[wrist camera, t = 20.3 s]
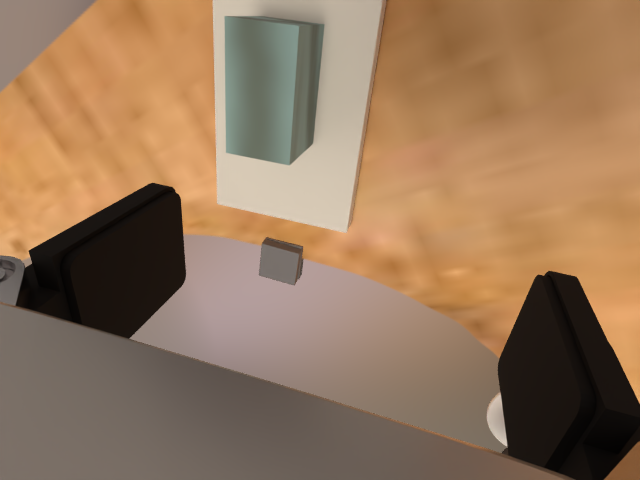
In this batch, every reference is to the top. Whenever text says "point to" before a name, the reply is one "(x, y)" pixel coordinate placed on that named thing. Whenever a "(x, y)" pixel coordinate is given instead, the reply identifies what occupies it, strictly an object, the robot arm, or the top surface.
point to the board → (330, 123)
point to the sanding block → (271, 86)
